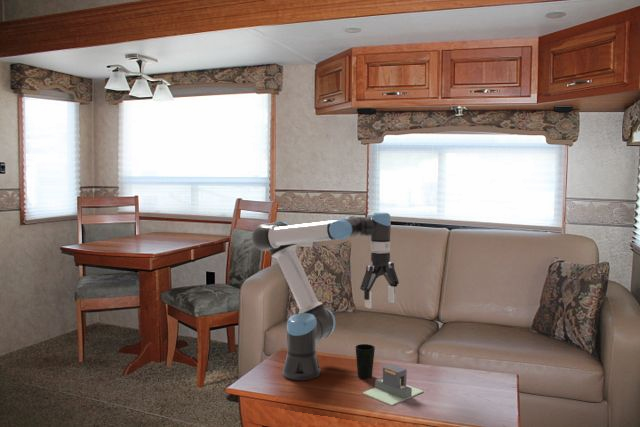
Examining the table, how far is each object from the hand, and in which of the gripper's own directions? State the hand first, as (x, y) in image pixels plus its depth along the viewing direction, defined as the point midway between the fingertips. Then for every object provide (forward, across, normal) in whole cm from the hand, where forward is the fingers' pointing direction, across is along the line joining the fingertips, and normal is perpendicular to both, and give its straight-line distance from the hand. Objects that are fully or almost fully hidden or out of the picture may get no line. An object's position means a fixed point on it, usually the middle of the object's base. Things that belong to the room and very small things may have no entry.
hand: (379, 305), depth 215 cm
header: (+29, -9, -15) cm, 34 cm away
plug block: (+25, -9, -16) cm, 31 cm away
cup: (+29, -5, +3) cm, 29 cm away
